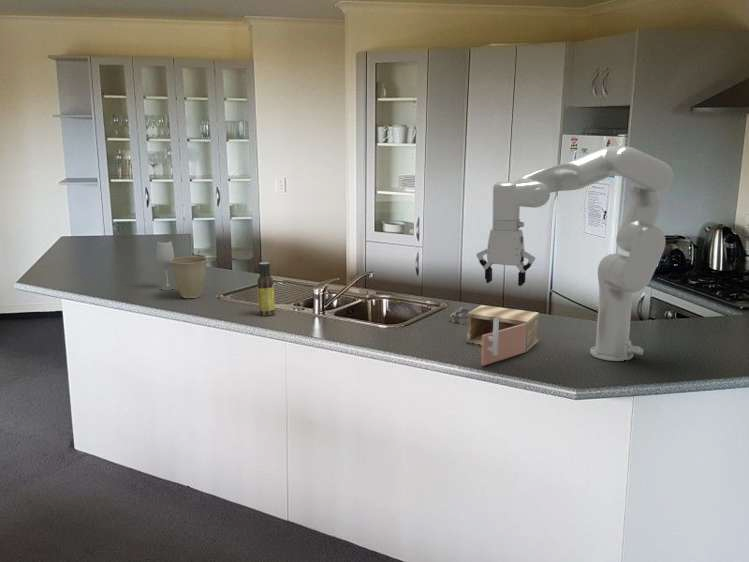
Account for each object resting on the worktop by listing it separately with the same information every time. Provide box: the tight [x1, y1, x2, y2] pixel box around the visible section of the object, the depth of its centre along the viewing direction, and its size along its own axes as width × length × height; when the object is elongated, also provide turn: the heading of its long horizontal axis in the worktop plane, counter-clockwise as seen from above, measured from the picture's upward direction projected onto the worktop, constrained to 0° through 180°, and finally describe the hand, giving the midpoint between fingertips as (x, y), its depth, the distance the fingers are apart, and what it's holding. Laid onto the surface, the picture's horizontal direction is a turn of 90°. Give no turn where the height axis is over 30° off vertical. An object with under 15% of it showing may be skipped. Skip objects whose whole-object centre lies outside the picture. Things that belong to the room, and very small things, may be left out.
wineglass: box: [155, 240, 175, 286], centre depth 306 cm, size 8×8×21 cm
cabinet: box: [466, 304, 540, 352], centre depth 229 cm, size 20×12×10 cm, turn 60°
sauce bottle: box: [256, 261, 276, 317], centre depth 264 cm, size 6×6×20 cm
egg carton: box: [449, 305, 470, 325], centre depth 256 cm, size 11×8×4 cm
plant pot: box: [170, 256, 208, 297], centre depth 291 cm, size 15×15×16 cm
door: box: [480, 318, 528, 366], centre depth 211 cm, size 20×4×15 cm, turn 129°
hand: (504, 283), depth 204 cm, fingers open, 9 cm apart
